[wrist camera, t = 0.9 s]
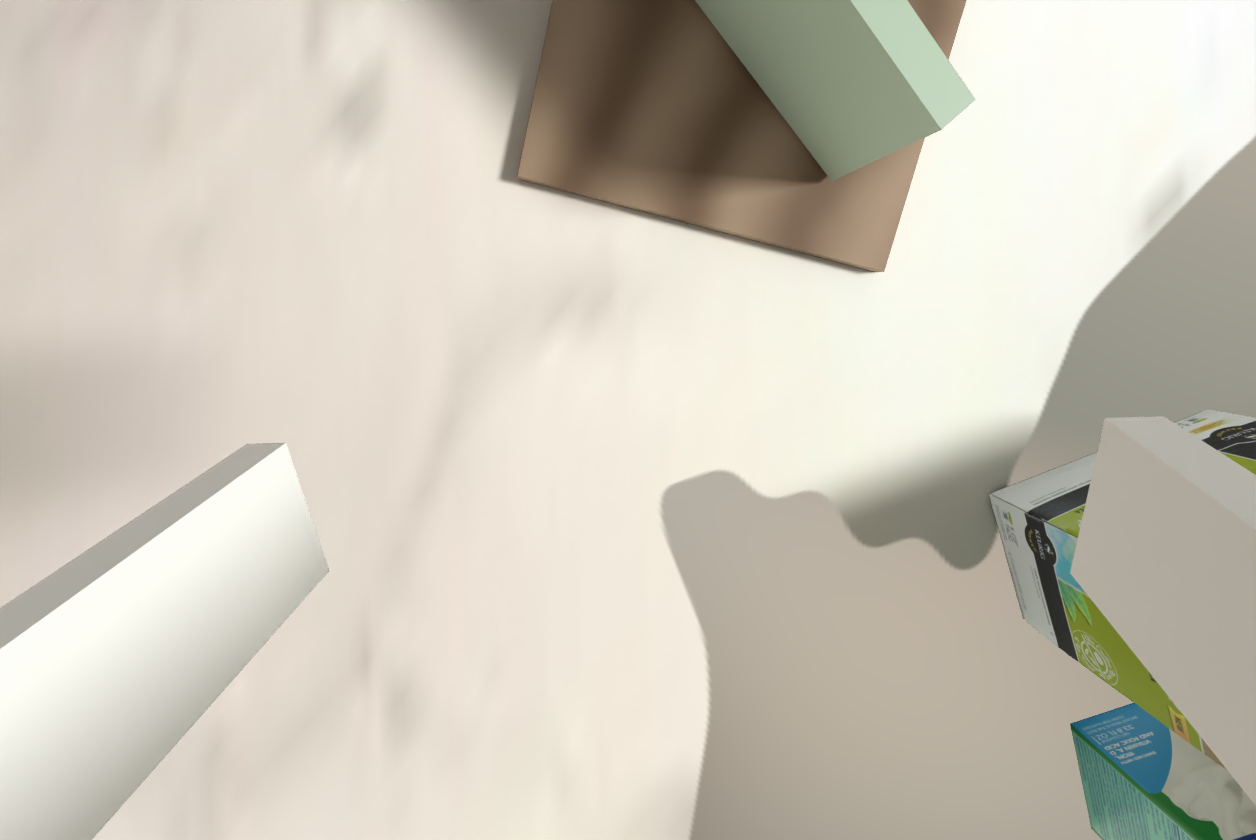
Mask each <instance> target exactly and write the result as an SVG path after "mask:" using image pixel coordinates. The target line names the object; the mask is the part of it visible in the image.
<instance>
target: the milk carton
mask: <svg viewBox="0 0 1256 840" xmlns="http://www.w3.org/2000/svg"><path fill="white" fill-rule="evenodd" d="M1071 730H1072V735H1073V740H1074V744H1075V749H1076V754H1077V759H1078V764H1079V769H1080V774H1081V778H1082V784H1083V789H1084V794H1085V798H1086V803H1087V808H1088V813H1089V818H1090V823H1091V828H1092V829H1093V830H1094V831H1095V833H1096V834H1097V835H1098V836H1099V837H1100V838H1101V839H1102V840H1256V805H1255V804H1254V803H1253V802H1252V800H1251V799H1250V798H1249V797H1248V795H1247V794H1246V793H1245V792H1244V790H1243V789H1242V788H1241V787H1240V785H1239V784H1238V783H1237V782H1236V780H1235V779H1234V778H1233V777H1232V775H1231V774H1230V773H1229V772H1228V771H1227V770H1226V769H1225V768H1223V767H1222V766H1220V765H1219V764H1218V763H1216V762H1215V761H1213V760H1212V759H1211V758H1209V757H1208V756H1206V755H1205V754H1204V753H1202V752H1201V751H1200V750H1198V749H1197V748H1195V747H1194V746H1193V745H1191V744H1190V743H1188V742H1187V741H1186V740H1184V739H1183V738H1182V737H1180V736H1179V735H1177V734H1176V733H1175V732H1173V731H1172V730H1171V729H1169V728H1168V727H1167V726H1165V725H1164V724H1163V723H1161V722H1160V721H1158V720H1157V719H1156V718H1154V717H1153V716H1152V715H1150V714H1149V713H1148V712H1146V711H1145V710H1144V709H1142V708H1141V707H1140V706H1138V705H1137V704H1136V703H1132V704H1129V705H1126V706H1123V707H1120V708H1117V709H1114V710H1111V711H1108V712H1105V713H1102V714H1099V715H1096V716H1093V717H1089V718H1087V719H1083V720H1080V721H1077V722H1074V723H1071Z"/></svg>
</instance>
